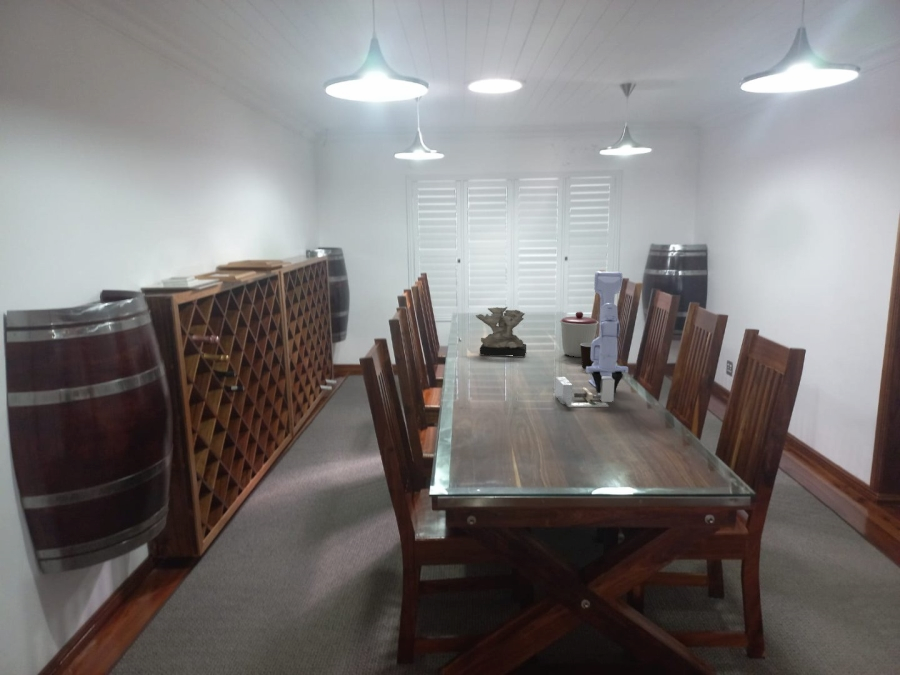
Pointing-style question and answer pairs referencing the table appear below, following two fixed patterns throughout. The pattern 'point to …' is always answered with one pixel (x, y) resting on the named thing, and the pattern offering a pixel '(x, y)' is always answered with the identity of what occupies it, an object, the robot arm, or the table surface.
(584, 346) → the coffee mug
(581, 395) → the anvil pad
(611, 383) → the block
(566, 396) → the frame
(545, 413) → the table surface
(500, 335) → the coral
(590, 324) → the canister
